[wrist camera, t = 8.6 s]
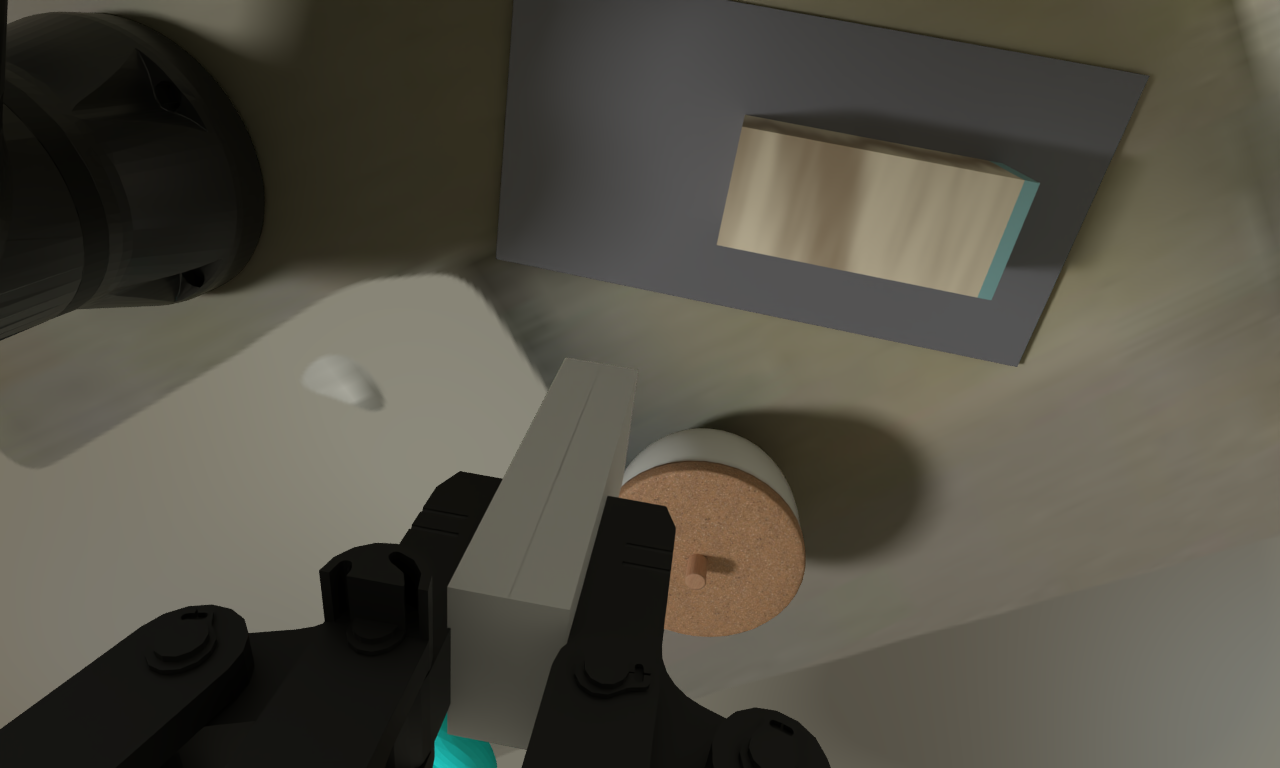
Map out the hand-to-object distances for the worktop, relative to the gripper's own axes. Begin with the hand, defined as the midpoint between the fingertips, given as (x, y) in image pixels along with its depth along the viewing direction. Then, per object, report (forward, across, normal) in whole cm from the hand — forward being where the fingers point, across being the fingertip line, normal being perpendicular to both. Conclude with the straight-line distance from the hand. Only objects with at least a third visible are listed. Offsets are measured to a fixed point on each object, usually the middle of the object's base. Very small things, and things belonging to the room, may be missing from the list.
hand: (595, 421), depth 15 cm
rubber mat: (+24, +5, +1) cm, 24 cm away
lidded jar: (+24, +4, -17) cm, 29 cm away
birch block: (+21, +2, +1) cm, 21 cm away
